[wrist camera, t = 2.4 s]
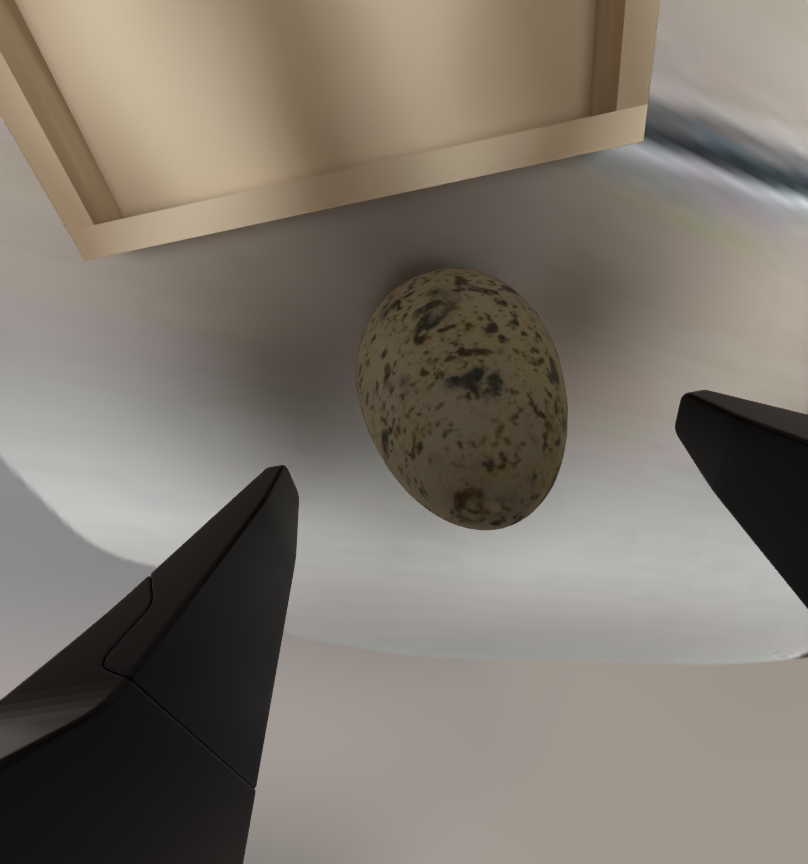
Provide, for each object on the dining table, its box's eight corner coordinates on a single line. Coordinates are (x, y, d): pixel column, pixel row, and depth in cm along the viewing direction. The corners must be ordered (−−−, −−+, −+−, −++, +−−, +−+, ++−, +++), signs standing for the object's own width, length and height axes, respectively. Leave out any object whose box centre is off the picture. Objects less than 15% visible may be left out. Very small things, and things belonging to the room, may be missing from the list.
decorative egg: (449, 420, 18) (509, 632, 10) (333, 351, 16) (284, 546, 8) (544, 309, 16) (728, 471, 7) (420, 211, 14) (483, 284, 5)
